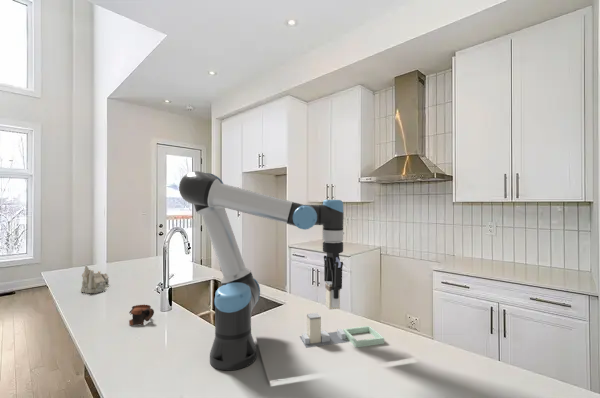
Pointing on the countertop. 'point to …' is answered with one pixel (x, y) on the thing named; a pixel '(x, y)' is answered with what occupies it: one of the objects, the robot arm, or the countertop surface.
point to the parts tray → (366, 342)
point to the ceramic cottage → (94, 281)
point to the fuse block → (325, 338)
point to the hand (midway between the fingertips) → (332, 304)
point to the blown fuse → (328, 295)
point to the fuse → (314, 327)
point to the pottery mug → (140, 314)
